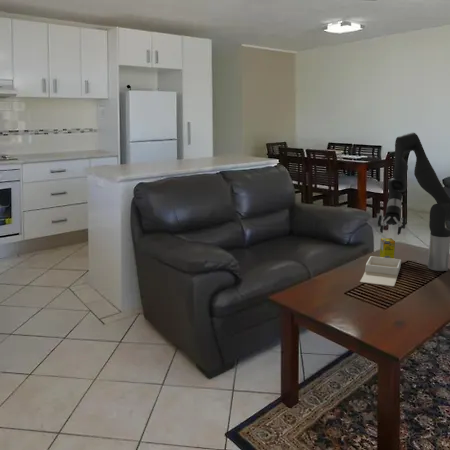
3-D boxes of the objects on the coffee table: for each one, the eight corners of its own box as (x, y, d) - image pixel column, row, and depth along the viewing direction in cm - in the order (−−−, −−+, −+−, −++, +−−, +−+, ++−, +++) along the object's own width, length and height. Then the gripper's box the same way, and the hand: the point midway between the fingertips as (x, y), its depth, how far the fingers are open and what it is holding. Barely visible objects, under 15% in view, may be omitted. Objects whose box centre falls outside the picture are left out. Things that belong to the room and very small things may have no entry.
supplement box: (394, 261, 248) (395, 241, 246) (382, 261, 248) (383, 241, 246) (390, 257, 254) (391, 238, 251) (379, 257, 254) (380, 238, 252)
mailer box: (400, 266, 239) (401, 259, 238) (393, 286, 212) (394, 278, 211) (370, 263, 245) (370, 256, 244) (359, 282, 218) (360, 274, 217)
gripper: (380, 204, 263) (375, 228, 255) (407, 205, 257) (403, 230, 249) (380, 211, 269) (376, 235, 261) (407, 213, 263) (404, 238, 255)
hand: (390, 233), depth 255 cm, fingers open, 8 cm apart
